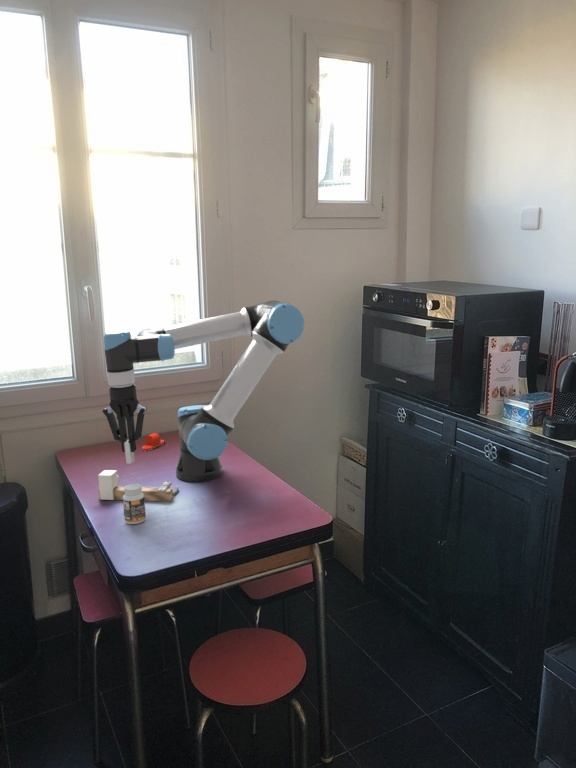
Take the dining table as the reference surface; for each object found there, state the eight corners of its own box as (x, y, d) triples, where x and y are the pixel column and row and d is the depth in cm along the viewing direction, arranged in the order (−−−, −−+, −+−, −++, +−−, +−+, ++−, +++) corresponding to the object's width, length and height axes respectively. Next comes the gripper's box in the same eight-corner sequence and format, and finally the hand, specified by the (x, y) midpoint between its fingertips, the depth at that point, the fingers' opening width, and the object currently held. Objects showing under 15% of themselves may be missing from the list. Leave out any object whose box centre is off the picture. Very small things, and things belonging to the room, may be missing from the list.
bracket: (147, 452, 231) (147, 439, 230) (139, 450, 233) (138, 438, 232) (166, 443, 241) (165, 430, 240) (158, 442, 243) (157, 429, 242)
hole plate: (178, 490, 193) (178, 487, 192) (174, 496, 188) (174, 492, 188) (110, 488, 195) (110, 485, 195) (104, 494, 191) (104, 490, 191)
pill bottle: (135, 526, 168) (132, 492, 166) (120, 522, 171) (117, 488, 169) (150, 518, 173) (147, 485, 170) (135, 514, 176) (132, 481, 174)
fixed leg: (172, 488, 191) (171, 481, 190) (164, 497, 184) (163, 490, 183) (165, 488, 191) (165, 481, 191) (158, 497, 184) (157, 490, 184)
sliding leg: (123, 490, 193) (121, 466, 191) (113, 499, 186) (111, 475, 184) (110, 489, 194) (108, 466, 192) (100, 499, 186) (98, 475, 185)
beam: (172, 498, 187) (172, 488, 186) (170, 501, 184) (169, 491, 184) (102, 495, 190) (102, 486, 189) (99, 499, 187) (98, 489, 187)
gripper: (148, 381, 183) (155, 457, 188) (105, 382, 184) (114, 457, 189) (139, 387, 175) (147, 466, 180) (95, 388, 177) (104, 466, 182)
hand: (130, 462), depth 185 cm, fingers closed
